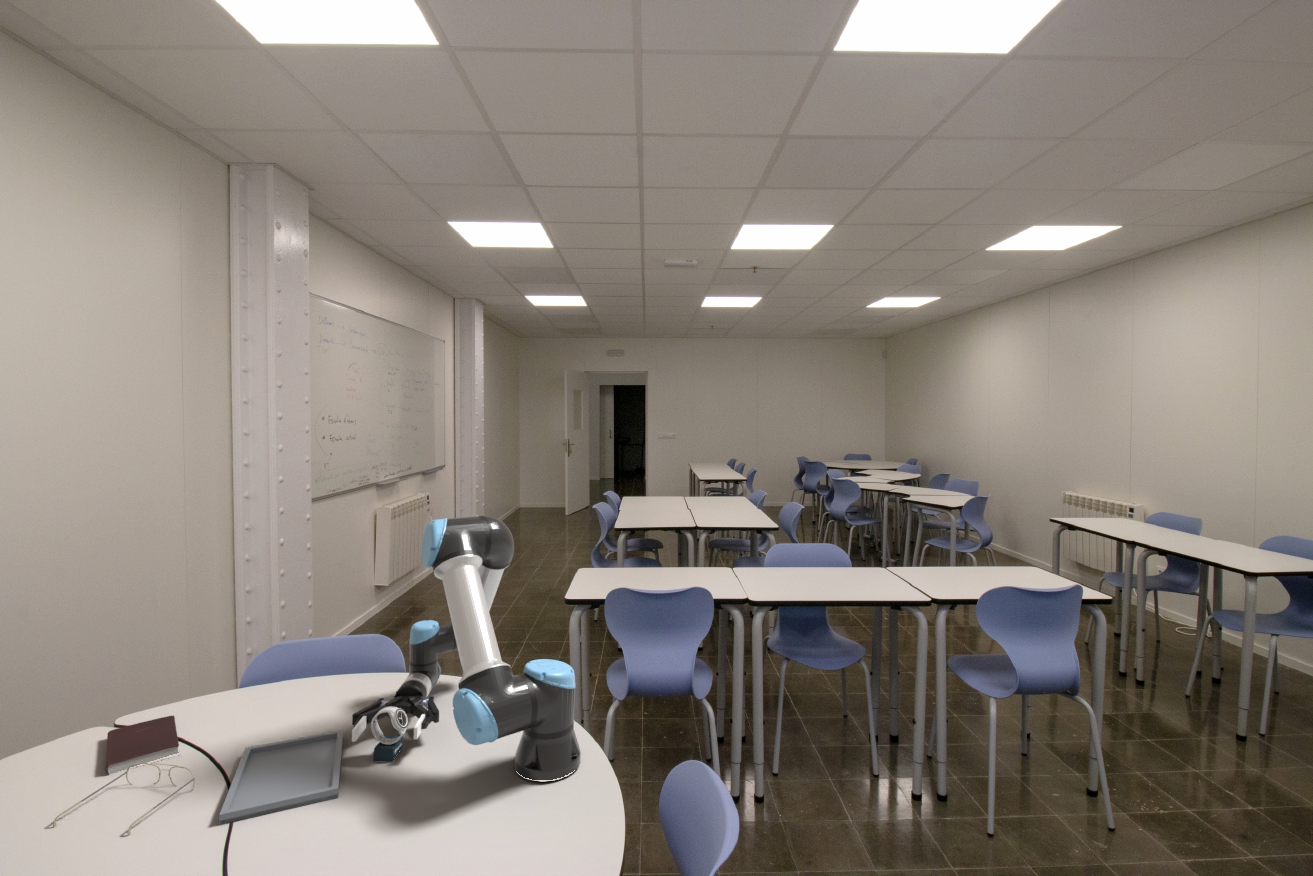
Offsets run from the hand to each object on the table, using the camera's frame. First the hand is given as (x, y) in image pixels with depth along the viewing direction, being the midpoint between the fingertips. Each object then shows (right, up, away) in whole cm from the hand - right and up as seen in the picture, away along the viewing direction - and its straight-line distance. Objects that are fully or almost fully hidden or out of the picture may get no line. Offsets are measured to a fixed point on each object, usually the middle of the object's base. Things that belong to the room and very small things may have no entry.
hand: (384, 734), depth 131 cm
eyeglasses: (-43, -6, -17) cm, 47 cm away
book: (-59, -6, +4) cm, 60 cm away
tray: (-18, -6, -6) cm, 20 cm away
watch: (-1, -7, +3) cm, 7 cm away
